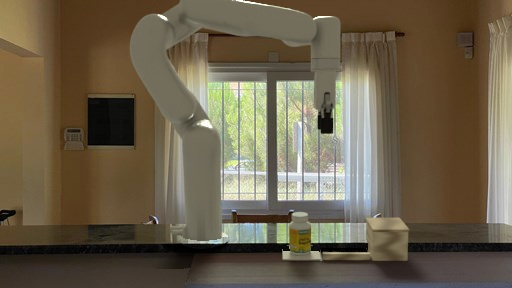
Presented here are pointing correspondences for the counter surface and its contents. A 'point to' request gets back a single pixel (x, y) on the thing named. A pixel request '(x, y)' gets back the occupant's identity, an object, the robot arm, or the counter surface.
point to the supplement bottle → (300, 234)
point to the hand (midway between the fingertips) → (325, 131)
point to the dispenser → (379, 242)
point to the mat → (311, 256)
